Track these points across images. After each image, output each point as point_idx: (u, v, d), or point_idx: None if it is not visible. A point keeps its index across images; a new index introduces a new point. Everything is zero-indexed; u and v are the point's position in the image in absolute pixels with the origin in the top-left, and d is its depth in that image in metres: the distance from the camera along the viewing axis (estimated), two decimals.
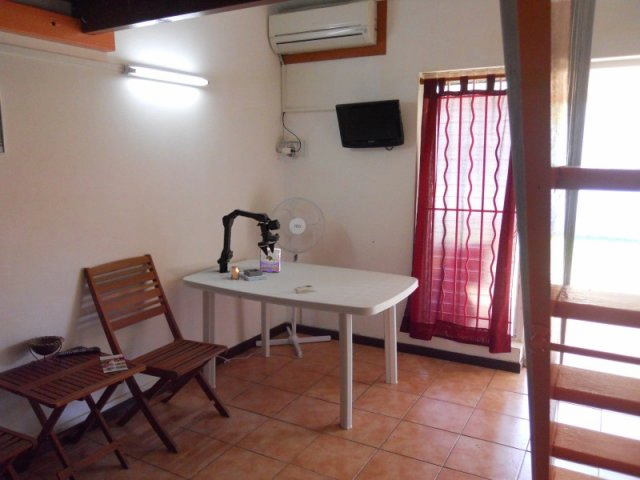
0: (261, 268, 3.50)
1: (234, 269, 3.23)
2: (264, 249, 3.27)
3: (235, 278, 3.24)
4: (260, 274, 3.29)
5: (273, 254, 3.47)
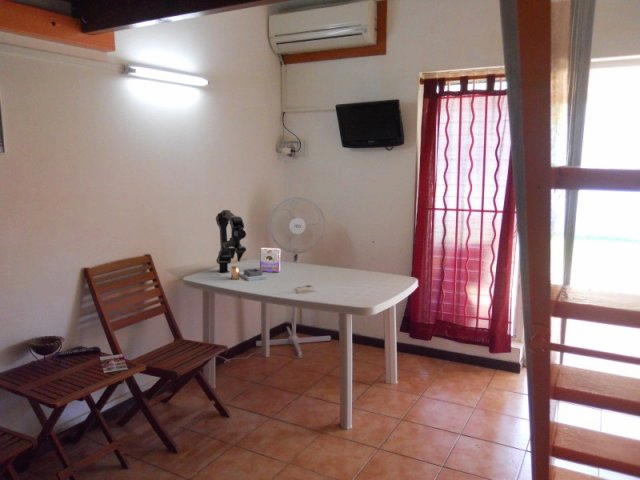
0: (261, 268, 3.50)
1: (234, 269, 3.23)
2: None
3: (235, 278, 3.24)
4: (260, 274, 3.29)
5: (273, 254, 3.47)
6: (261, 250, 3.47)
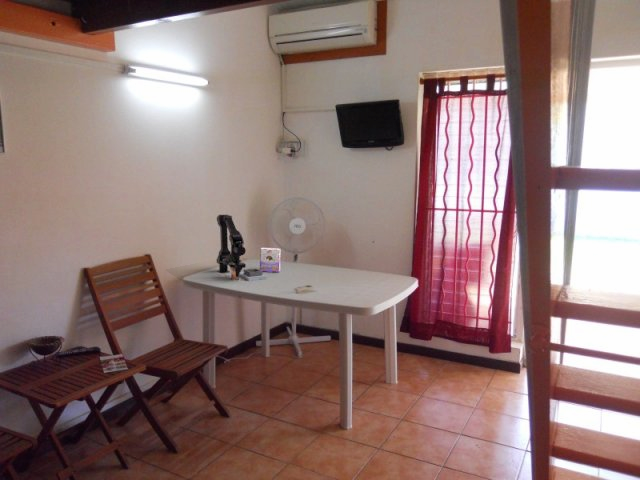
0: (261, 268, 3.50)
1: (234, 269, 3.23)
2: None
3: (235, 278, 3.24)
4: (260, 274, 3.29)
5: (273, 254, 3.47)
6: (261, 250, 3.47)
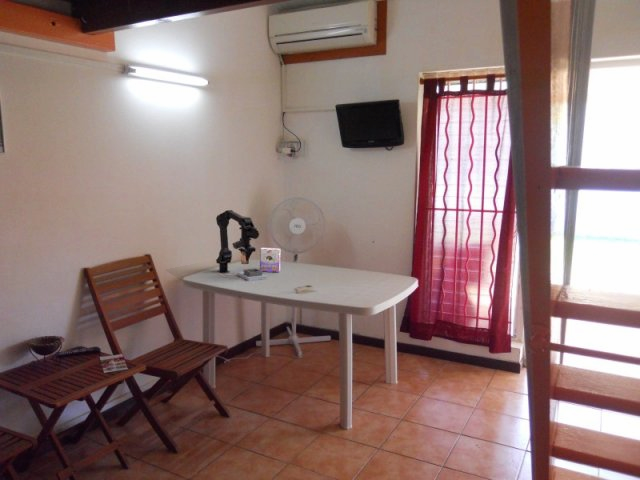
0: (261, 268, 3.50)
1: (244, 253, 3.24)
2: None
3: (245, 262, 3.25)
4: (260, 274, 3.29)
5: (273, 254, 3.47)
6: (261, 250, 3.47)
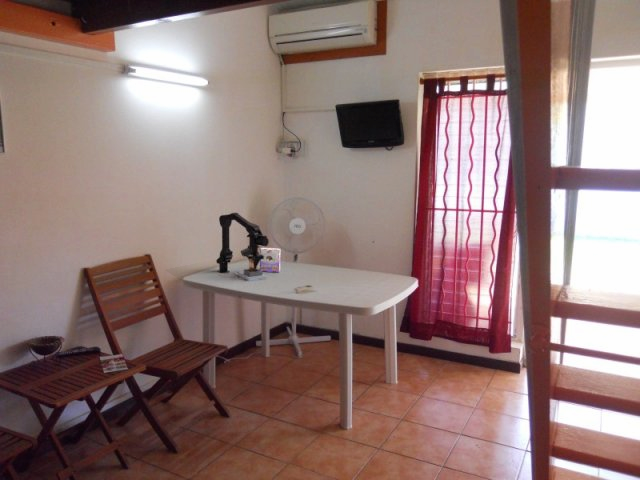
0: (261, 268, 3.50)
1: (252, 261, 3.27)
2: None
3: (253, 269, 3.28)
4: (260, 274, 3.29)
5: (273, 254, 3.47)
6: (261, 250, 3.47)
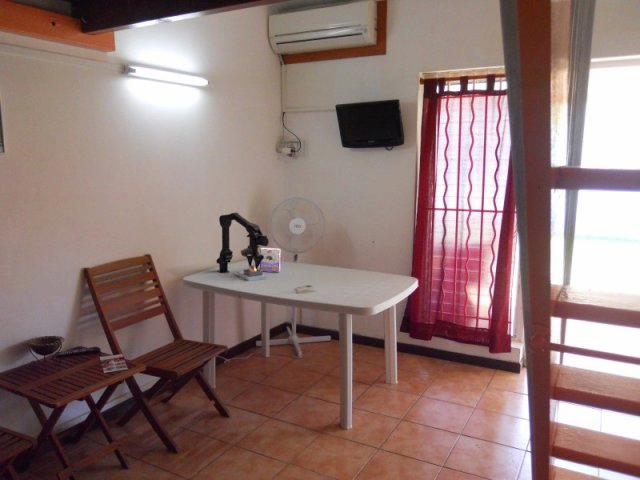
0: (261, 268, 3.50)
1: (252, 268, 3.28)
2: None
3: None
4: (260, 274, 3.29)
5: (273, 254, 3.47)
6: (261, 250, 3.47)
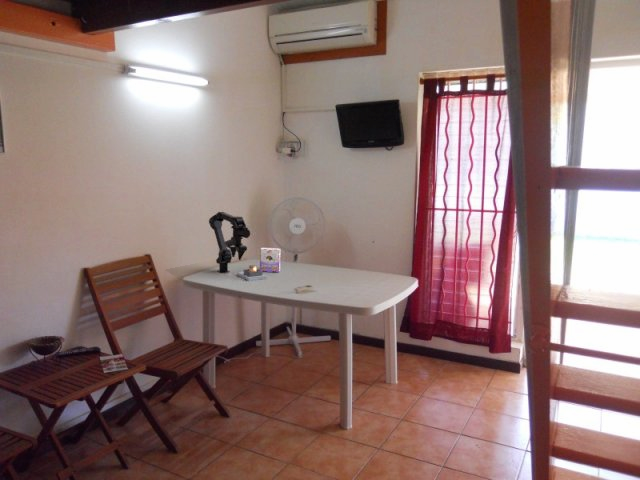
0: (261, 268, 3.50)
1: (252, 268, 3.28)
2: None
3: None
4: (260, 274, 3.29)
5: (273, 254, 3.47)
6: (261, 250, 3.47)
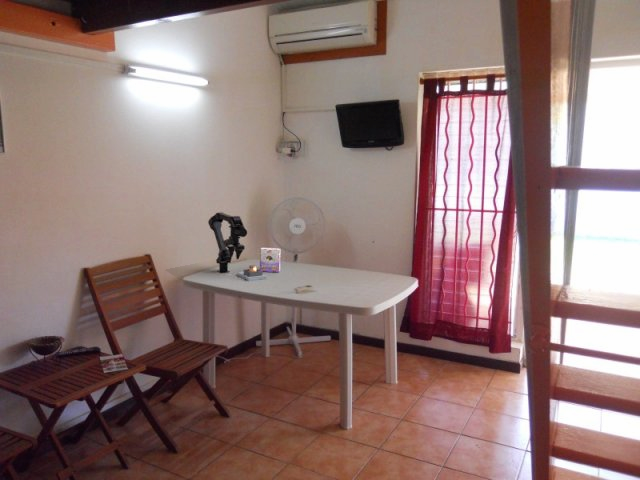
0: (261, 268, 3.50)
1: (252, 268, 3.28)
2: None
3: None
4: (260, 274, 3.29)
5: (273, 254, 3.47)
6: (261, 250, 3.47)
